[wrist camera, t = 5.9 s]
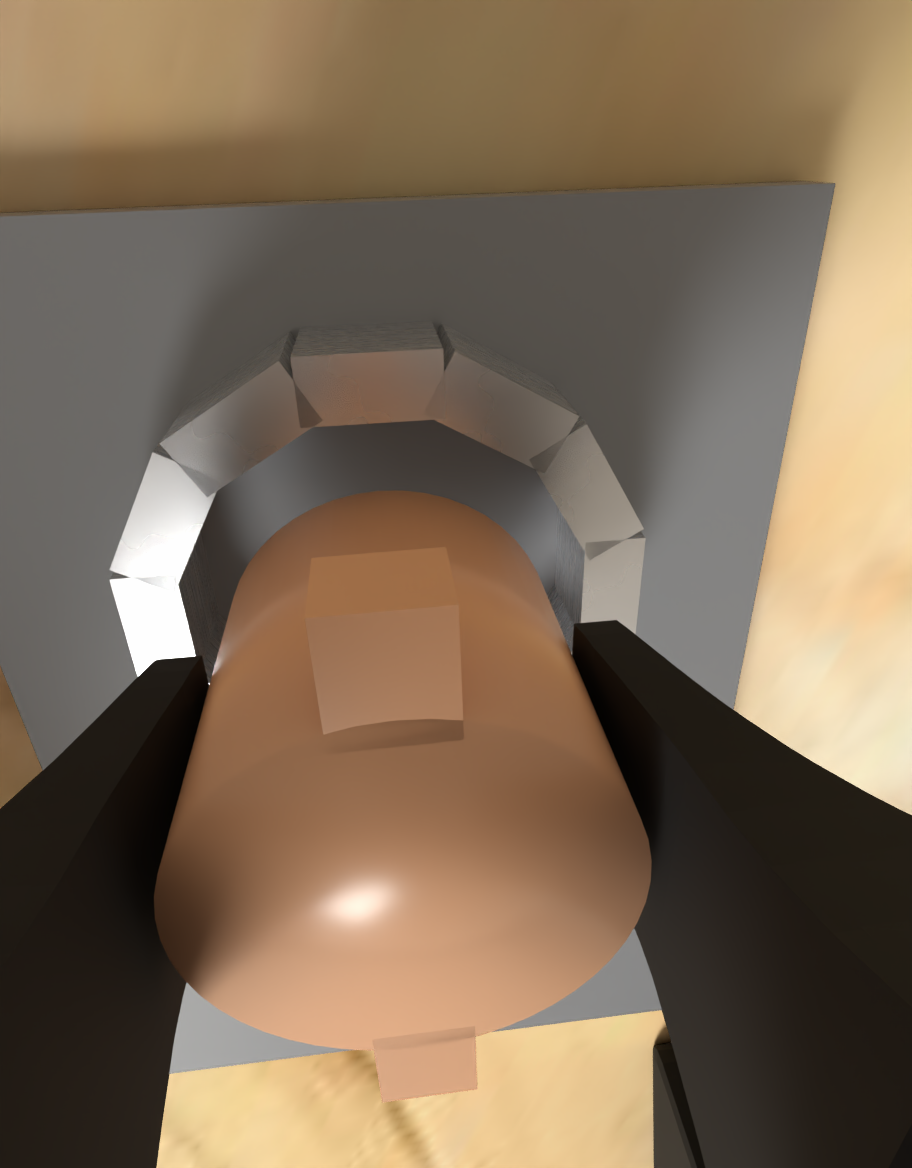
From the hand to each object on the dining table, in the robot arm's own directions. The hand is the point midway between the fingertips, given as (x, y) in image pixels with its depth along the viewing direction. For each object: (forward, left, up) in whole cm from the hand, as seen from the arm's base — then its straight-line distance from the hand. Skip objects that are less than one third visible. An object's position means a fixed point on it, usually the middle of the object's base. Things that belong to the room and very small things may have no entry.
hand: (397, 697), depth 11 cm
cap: (0, 0, -2) cm, 2 cm away
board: (0, -5, -5) cm, 7 cm away
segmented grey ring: (0, 0, -4) cm, 4 cm away
